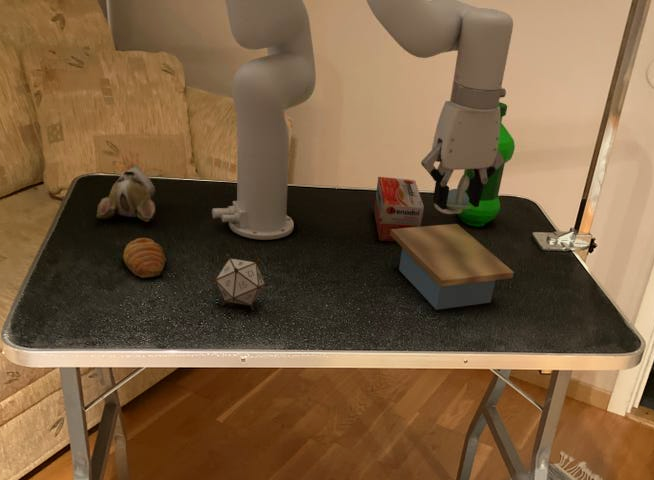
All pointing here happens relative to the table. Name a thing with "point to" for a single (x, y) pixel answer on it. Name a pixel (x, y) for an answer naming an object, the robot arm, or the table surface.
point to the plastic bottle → (490, 182)
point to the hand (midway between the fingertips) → (456, 204)
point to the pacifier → (457, 198)
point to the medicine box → (397, 206)
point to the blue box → (444, 287)
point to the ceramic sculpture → (129, 197)
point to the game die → (240, 281)
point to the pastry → (144, 257)
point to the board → (450, 254)
